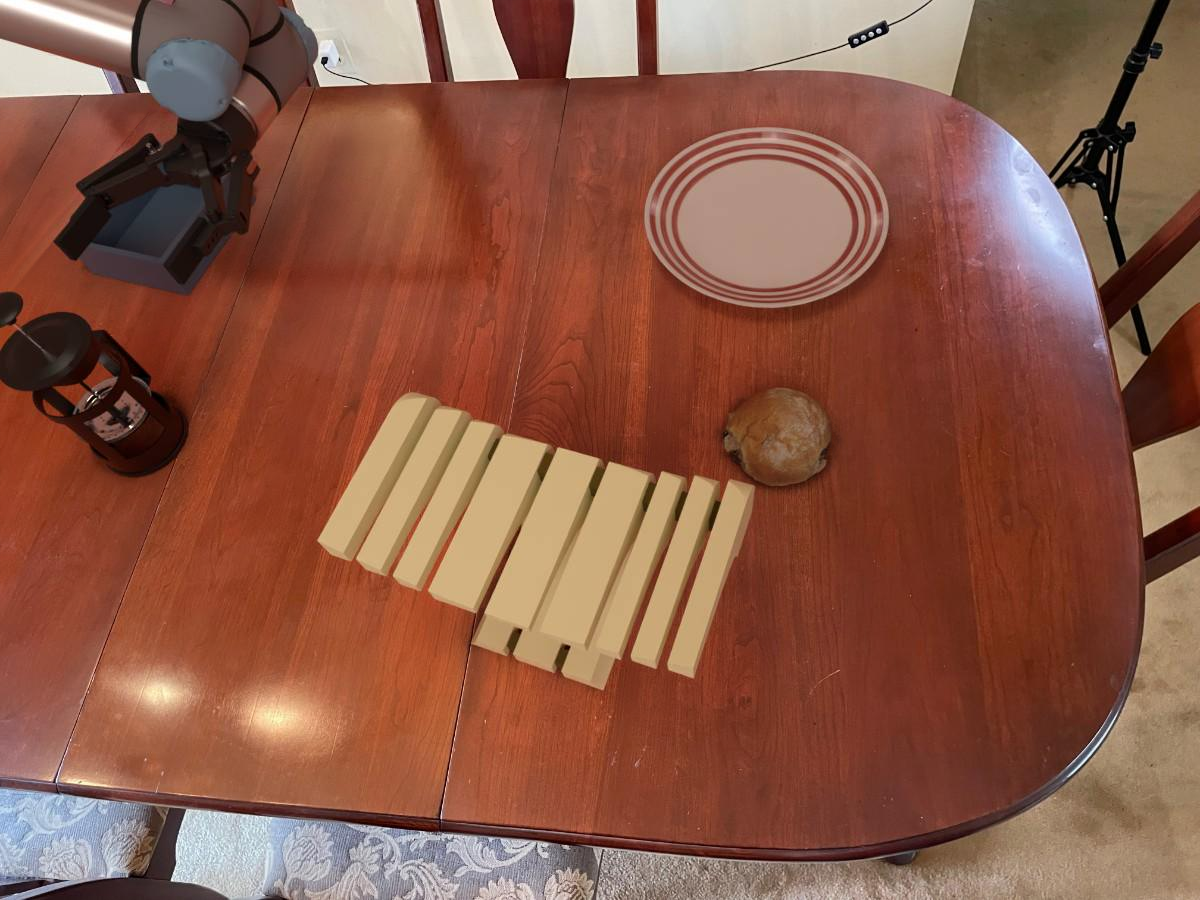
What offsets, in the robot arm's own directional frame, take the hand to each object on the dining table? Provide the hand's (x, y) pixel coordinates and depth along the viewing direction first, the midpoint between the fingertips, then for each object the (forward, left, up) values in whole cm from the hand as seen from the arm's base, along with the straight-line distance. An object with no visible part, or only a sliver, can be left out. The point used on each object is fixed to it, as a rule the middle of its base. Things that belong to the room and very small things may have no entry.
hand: (117, 263), depth 85 cm
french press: (0, -11, -16) cm, 20 cm away
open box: (-14, +16, -16) cm, 27 cm away
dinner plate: (+58, +34, -16) cm, 69 cm away
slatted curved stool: (+51, -14, -16) cm, 55 cm away
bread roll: (+66, +6, -16) cm, 68 cm away
